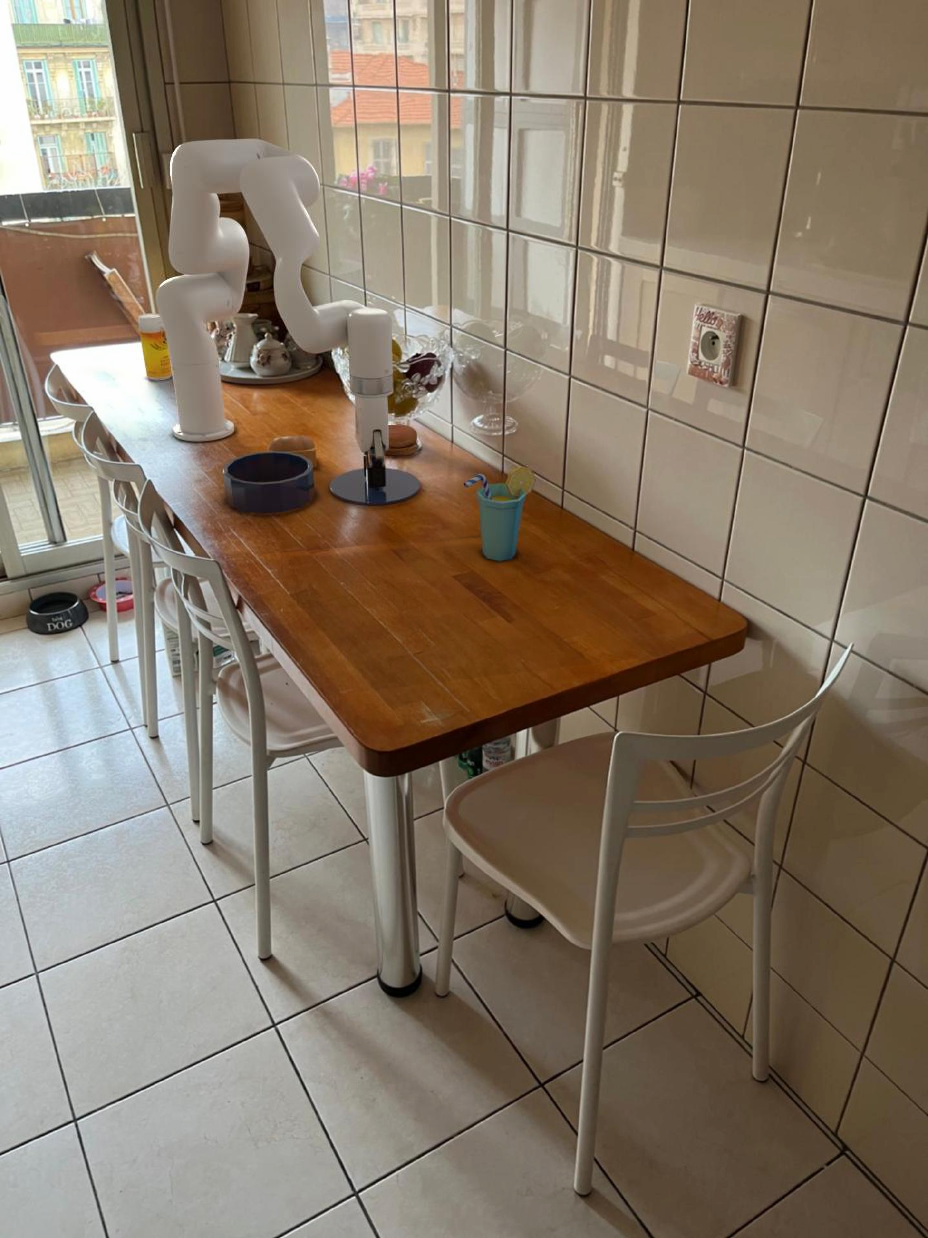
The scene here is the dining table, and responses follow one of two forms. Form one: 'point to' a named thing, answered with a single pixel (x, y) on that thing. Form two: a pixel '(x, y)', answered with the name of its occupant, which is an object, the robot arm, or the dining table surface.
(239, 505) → the pot
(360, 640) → the dining table surface
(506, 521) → the cup
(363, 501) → the lid
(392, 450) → the burger
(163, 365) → the yellow tall cylinder
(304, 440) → the bread
